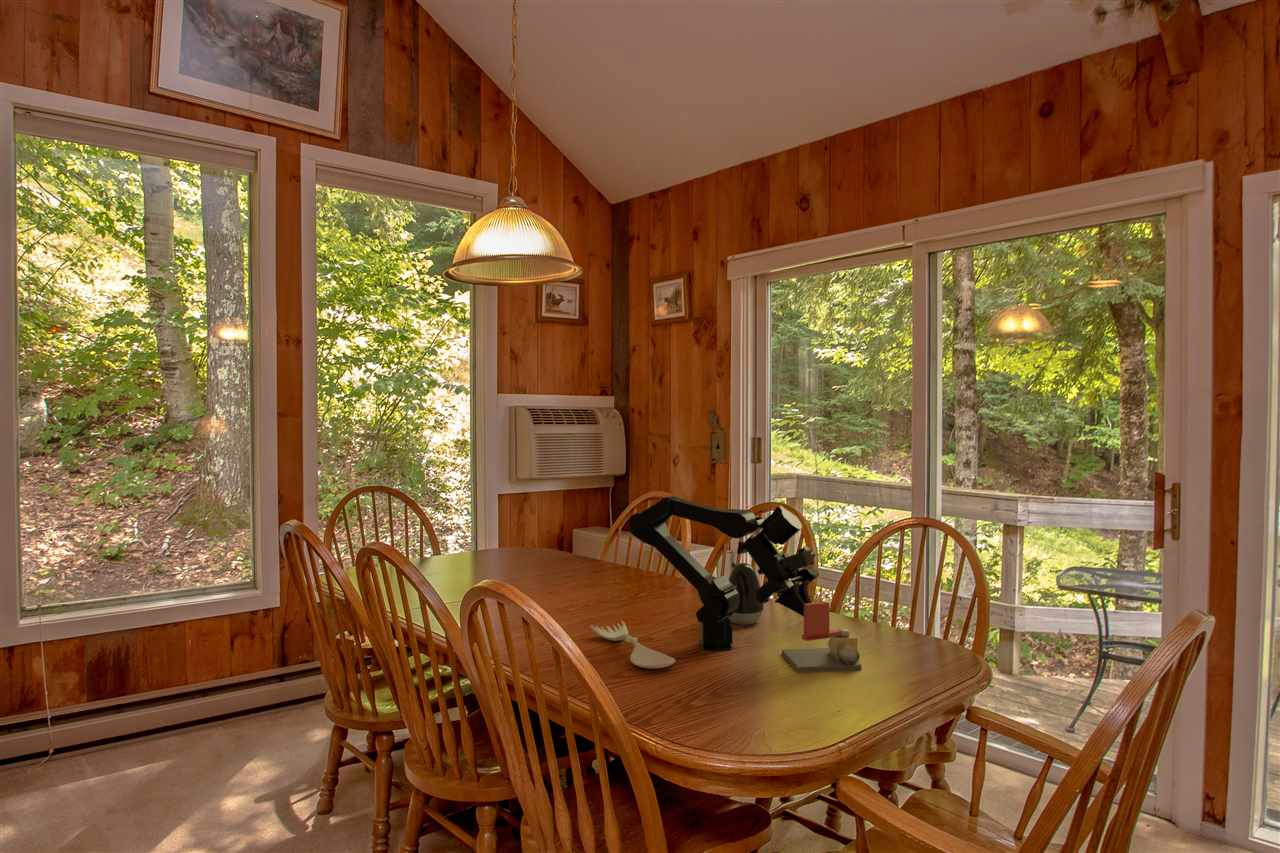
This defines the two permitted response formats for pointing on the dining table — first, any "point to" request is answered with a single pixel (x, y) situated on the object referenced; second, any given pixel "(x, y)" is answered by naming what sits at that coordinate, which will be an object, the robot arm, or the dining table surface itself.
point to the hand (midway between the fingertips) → (812, 617)
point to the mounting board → (815, 660)
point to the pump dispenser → (745, 594)
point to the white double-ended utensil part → (636, 648)
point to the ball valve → (844, 649)
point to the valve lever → (819, 622)
